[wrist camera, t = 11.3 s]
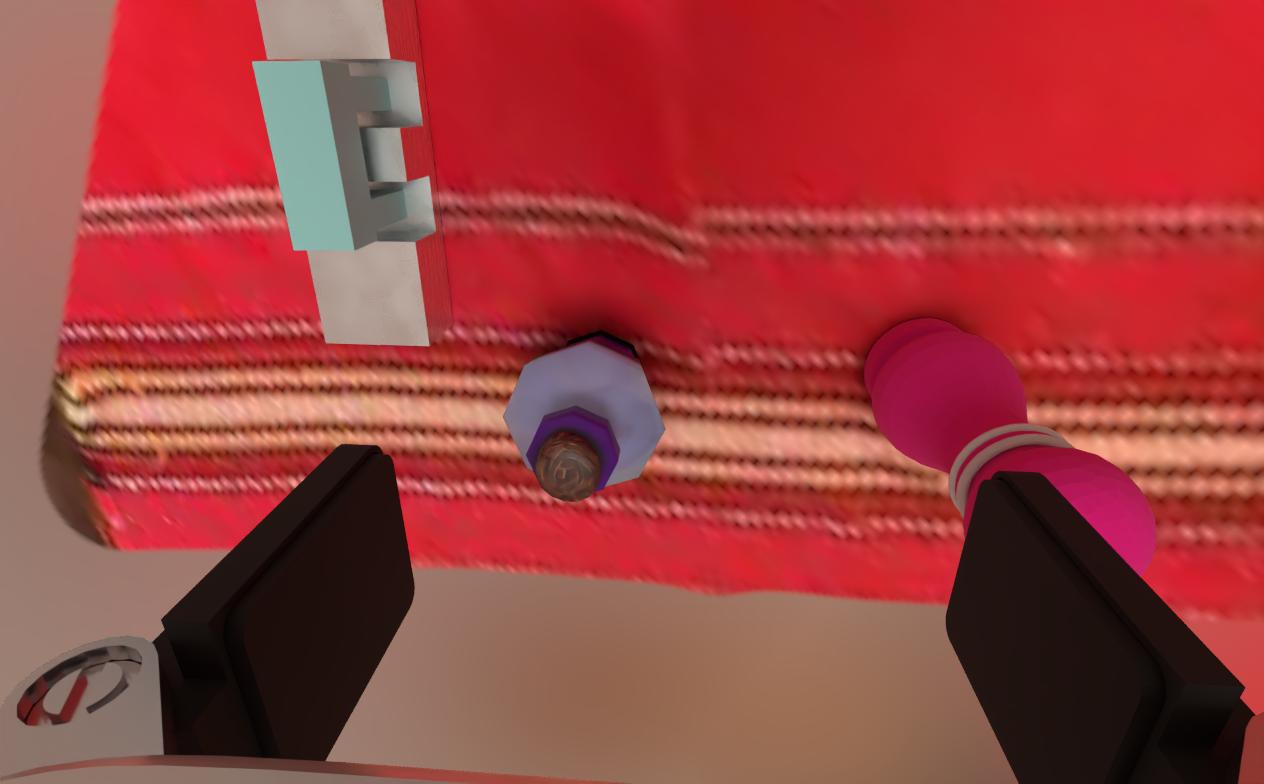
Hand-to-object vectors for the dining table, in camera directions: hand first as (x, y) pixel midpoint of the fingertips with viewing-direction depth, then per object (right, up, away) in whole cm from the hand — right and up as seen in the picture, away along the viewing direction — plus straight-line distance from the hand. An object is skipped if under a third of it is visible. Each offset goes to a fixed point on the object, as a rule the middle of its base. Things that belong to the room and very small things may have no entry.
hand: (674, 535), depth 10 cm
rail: (-15, +16, +25) cm, 33 cm away
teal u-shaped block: (-15, +15, +24) cm, 32 cm away
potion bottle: (-3, +4, +30) cm, 30 cm away
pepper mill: (+16, +4, +28) cm, 33 cm away
